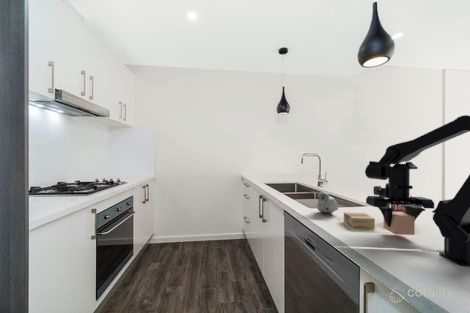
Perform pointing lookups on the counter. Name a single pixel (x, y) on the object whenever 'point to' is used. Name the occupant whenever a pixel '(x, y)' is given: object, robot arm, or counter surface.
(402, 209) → the soda can
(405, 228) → the terracotta block
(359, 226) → the oak block
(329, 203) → the grey rounded lump
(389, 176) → the robot arm
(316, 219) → the counter surface
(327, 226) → the counter surface
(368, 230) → the build plate
